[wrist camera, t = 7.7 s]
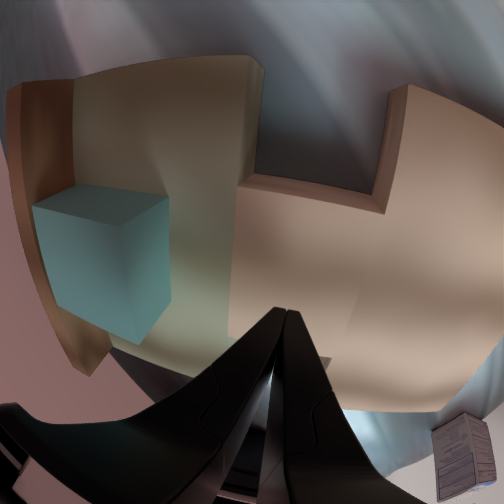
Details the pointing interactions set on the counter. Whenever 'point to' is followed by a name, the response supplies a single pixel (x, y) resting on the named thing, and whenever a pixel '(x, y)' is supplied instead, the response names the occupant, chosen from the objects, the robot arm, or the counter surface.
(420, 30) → the counter surface
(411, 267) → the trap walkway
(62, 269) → the teal block
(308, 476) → the robot arm
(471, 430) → the medicine box
